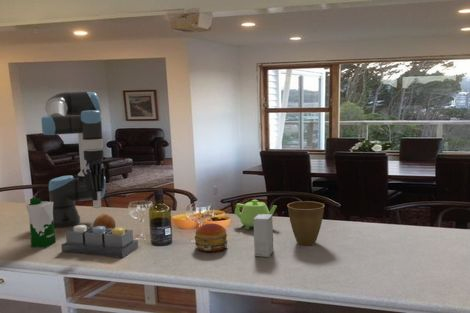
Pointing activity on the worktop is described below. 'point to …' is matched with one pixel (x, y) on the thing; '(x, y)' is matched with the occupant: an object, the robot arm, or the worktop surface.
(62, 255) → the worktop surface
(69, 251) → the grey frame
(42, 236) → the milk carton
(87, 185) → the robot arm
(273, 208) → the teapot
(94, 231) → the slate button
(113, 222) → the onion
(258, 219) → the skincare box
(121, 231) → the mustard button
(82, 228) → the cream button
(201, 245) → the burger
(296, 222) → the plant pot
